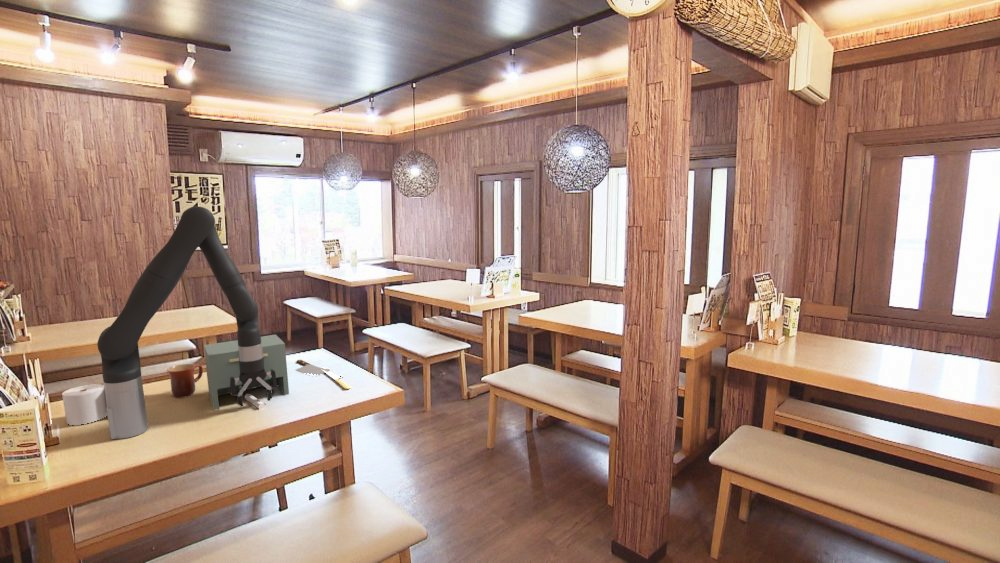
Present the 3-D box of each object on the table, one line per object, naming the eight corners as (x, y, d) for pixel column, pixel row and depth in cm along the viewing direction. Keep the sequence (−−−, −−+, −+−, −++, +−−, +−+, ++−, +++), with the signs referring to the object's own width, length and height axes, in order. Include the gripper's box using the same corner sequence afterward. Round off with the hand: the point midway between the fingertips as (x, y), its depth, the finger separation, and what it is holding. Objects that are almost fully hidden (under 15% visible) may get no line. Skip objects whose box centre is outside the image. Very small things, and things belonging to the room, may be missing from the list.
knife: (329, 364, 217) (317, 365, 214) (356, 385, 190) (343, 387, 187) (329, 367, 217) (317, 368, 214) (356, 389, 190) (343, 390, 187)
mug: (179, 400, 181) (176, 372, 179) (164, 396, 185) (161, 369, 183) (211, 389, 191) (208, 363, 190) (196, 386, 195) (193, 360, 194)
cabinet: (214, 410, 172) (208, 355, 169) (209, 395, 185) (203, 345, 182) (289, 394, 185) (285, 343, 182) (279, 381, 198) (275, 334, 195)
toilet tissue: (70, 416, 168) (65, 387, 167) (115, 409, 174) (111, 381, 173) (63, 428, 159) (58, 398, 158) (110, 420, 165) (106, 390, 164)
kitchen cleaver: (282, 364, 218) (304, 358, 225) (282, 366, 218) (305, 360, 226) (309, 377, 202) (332, 370, 209) (309, 380, 202) (332, 372, 209)
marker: (246, 399, 184) (263, 410, 172) (240, 398, 182) (257, 409, 171) (249, 392, 184) (266, 403, 173) (243, 390, 183) (261, 401, 172)
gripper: (228, 364, 164) (233, 411, 167) (276, 356, 172) (280, 401, 175) (225, 358, 170) (230, 404, 173) (271, 350, 178) (275, 395, 181)
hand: (255, 402), depth 174 cm, fingers open, 8 cm apart
